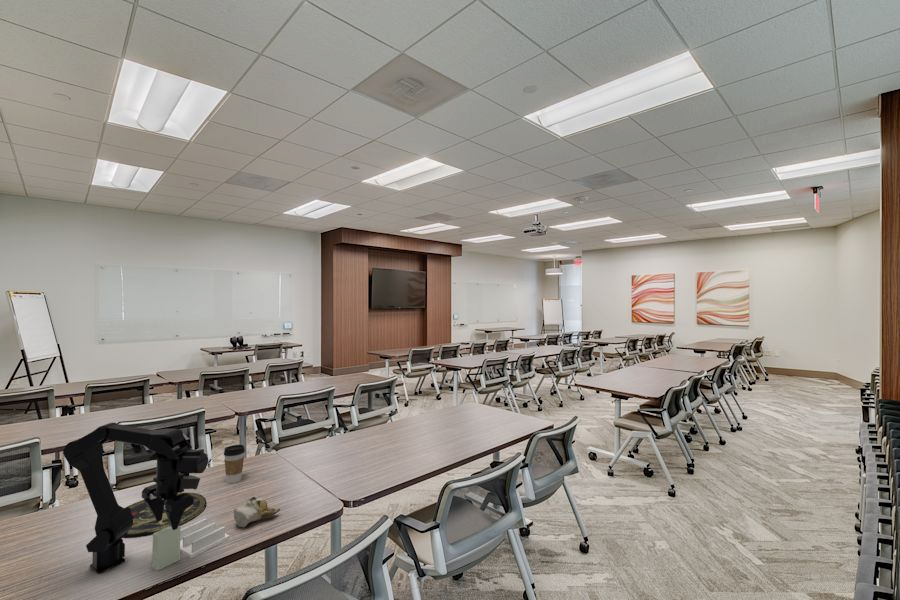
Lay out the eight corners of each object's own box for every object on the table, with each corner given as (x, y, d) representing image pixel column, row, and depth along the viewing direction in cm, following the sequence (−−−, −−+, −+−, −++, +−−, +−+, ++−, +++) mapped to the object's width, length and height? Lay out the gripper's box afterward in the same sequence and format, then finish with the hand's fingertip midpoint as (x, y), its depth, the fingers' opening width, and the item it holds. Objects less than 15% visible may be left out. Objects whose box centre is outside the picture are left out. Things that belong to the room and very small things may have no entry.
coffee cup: (218, 483, 172) (219, 448, 172) (234, 475, 180) (234, 442, 180) (233, 485, 169) (234, 450, 170) (248, 477, 177) (249, 444, 178)
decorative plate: (82, 527, 134) (162, 488, 163) (82, 533, 134) (162, 492, 163) (155, 539, 128) (224, 495, 157) (155, 545, 128) (224, 500, 157)
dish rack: (191, 558, 120) (191, 545, 120) (169, 545, 127) (169, 533, 127) (229, 538, 131) (229, 526, 131) (207, 527, 137) (207, 516, 137)
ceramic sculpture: (226, 499, 139) (265, 486, 152) (224, 525, 139) (264, 509, 151) (243, 508, 133) (282, 493, 146) (241, 534, 133) (280, 517, 145)
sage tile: (157, 571, 114) (158, 536, 115) (152, 567, 116) (153, 533, 116) (179, 559, 120) (180, 526, 120) (174, 556, 121) (175, 523, 121)
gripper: (212, 469, 121) (211, 520, 121) (180, 458, 130) (179, 505, 130) (173, 483, 111) (171, 539, 111) (141, 470, 120) (140, 521, 120)
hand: (167, 525), depth 118 cm, fingers open, 9 cm apart
